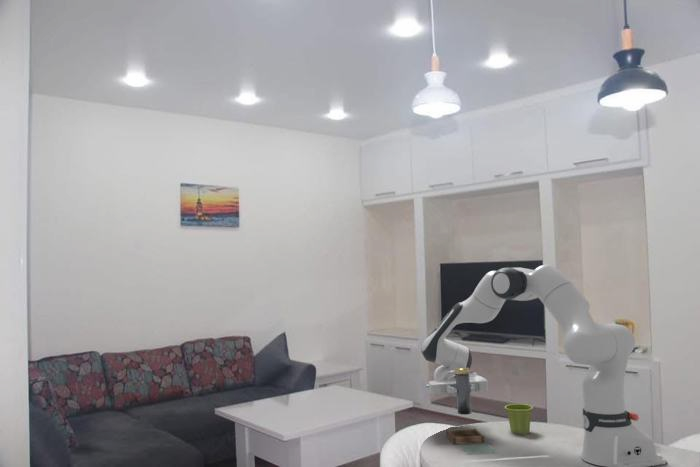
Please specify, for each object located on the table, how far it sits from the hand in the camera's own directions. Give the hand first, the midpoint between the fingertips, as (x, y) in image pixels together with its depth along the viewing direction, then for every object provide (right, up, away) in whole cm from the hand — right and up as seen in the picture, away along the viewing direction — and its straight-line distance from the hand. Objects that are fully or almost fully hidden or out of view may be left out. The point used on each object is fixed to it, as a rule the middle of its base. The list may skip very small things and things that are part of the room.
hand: (463, 390), depth 191 cm
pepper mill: (0, -7, 0) cm, 8 cm away
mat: (+2, -16, -11) cm, 19 cm away
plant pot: (+21, -17, +8) cm, 28 cm away
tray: (0, -17, 0) cm, 17 cm away
